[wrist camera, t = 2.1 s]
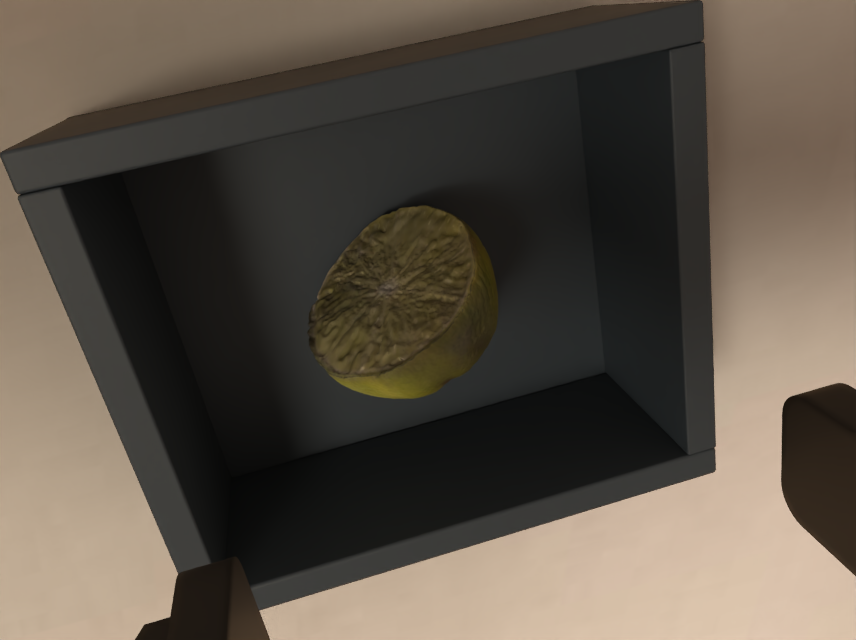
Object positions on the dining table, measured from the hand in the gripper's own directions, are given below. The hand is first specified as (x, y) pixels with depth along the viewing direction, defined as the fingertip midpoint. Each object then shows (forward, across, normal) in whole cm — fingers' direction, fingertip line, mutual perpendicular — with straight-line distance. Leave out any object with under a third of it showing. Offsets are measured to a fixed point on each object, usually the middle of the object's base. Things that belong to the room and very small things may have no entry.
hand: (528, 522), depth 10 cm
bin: (+12, 0, 0) cm, 12 cm away
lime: (+12, 0, 0) cm, 12 cm away
